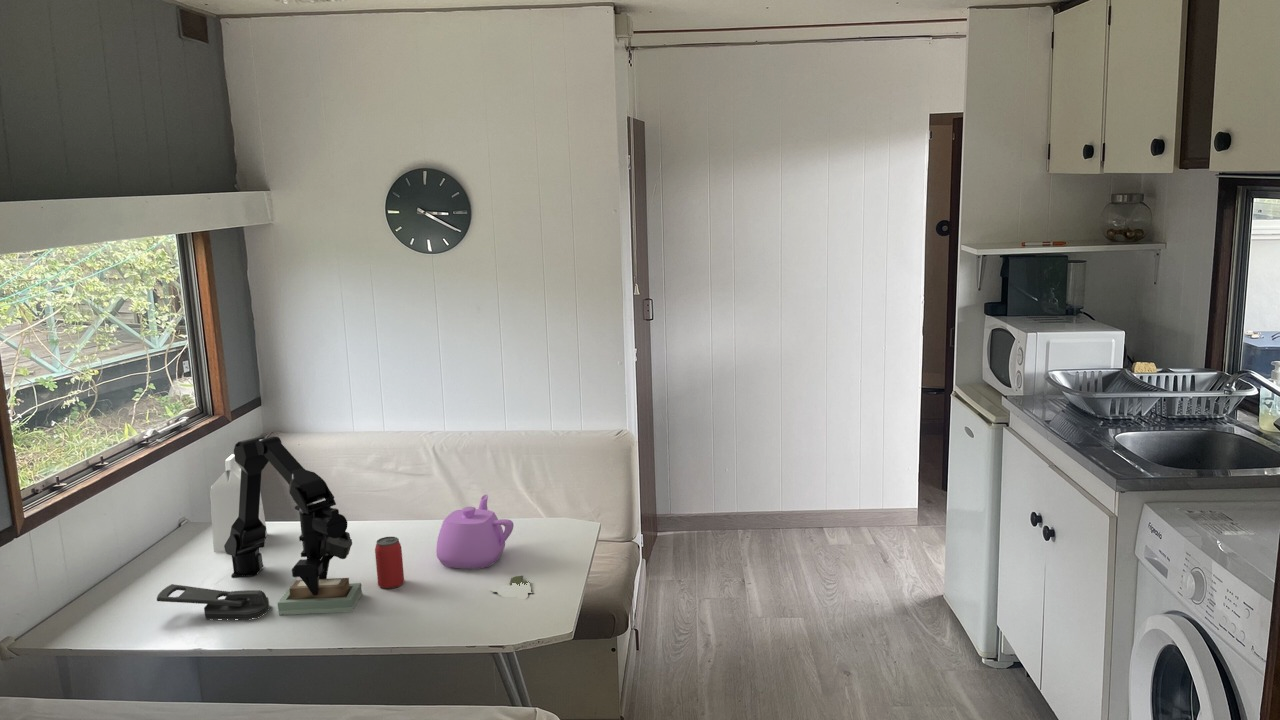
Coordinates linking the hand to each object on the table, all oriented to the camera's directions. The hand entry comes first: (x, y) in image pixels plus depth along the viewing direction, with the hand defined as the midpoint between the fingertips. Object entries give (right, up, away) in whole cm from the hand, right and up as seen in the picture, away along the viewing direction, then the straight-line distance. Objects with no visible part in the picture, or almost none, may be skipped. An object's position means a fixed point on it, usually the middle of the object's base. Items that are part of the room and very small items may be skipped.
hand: (319, 588), depth 233 cm
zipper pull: (-24, -6, -2) cm, 25 cm away
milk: (-37, +3, +43) cm, 57 cm away
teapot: (+33, +2, +25) cm, 42 cm away
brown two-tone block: (0, -3, +1) cm, 3 cm away
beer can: (+15, -2, +11) cm, 19 cm away
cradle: (0, -4, +1) cm, 4 cm away
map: (+47, -3, +3) cm, 47 cm away
